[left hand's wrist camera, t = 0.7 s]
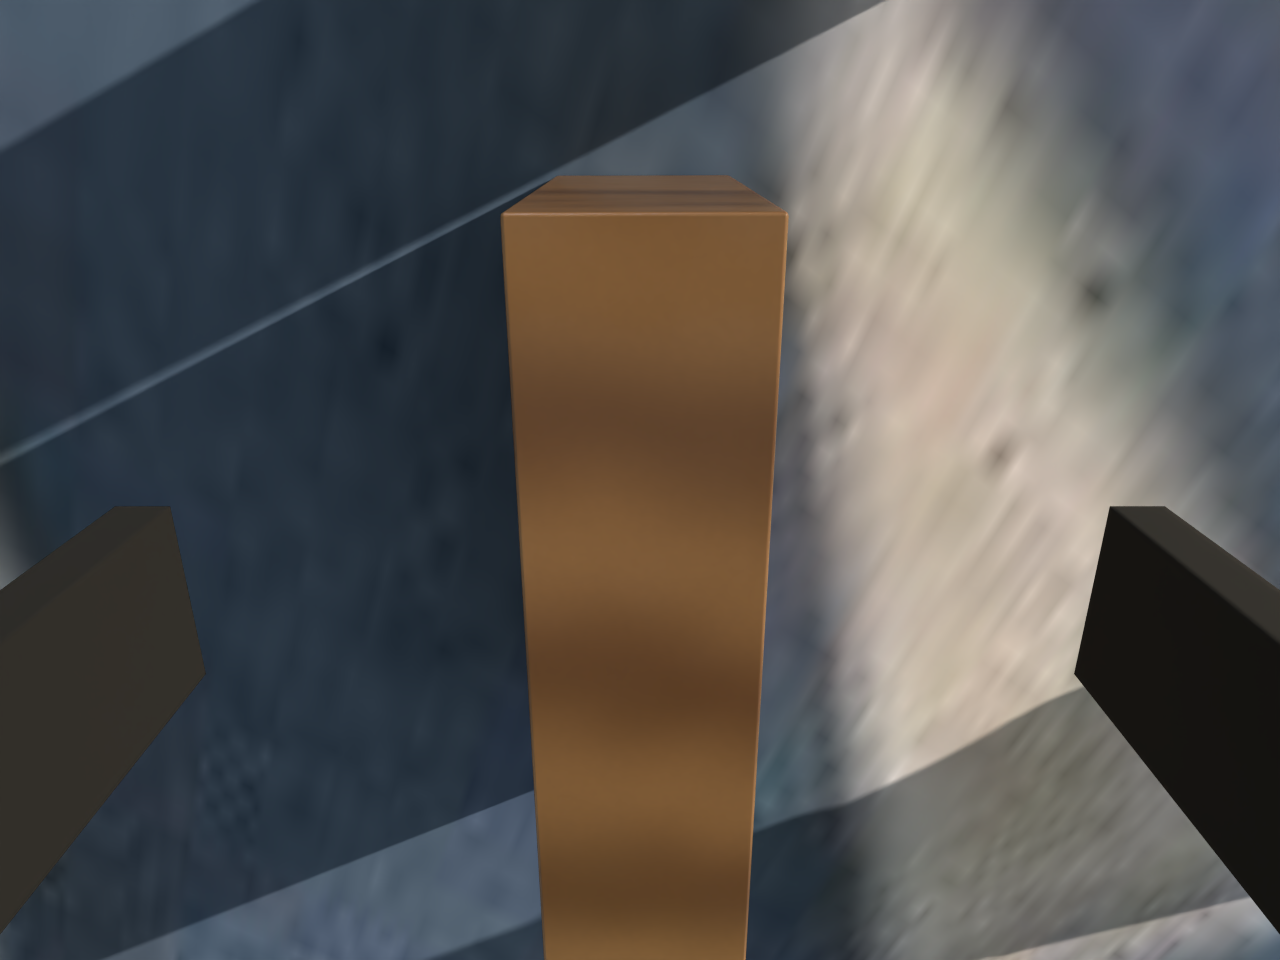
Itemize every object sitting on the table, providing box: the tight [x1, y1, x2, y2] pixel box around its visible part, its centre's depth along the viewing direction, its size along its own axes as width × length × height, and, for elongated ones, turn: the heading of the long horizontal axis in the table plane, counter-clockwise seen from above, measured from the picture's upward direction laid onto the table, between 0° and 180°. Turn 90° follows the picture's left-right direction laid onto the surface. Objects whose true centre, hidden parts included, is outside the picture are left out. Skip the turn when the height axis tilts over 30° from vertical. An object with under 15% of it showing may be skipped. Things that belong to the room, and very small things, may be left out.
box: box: [500, 175, 789, 960], centre depth 28 cm, size 22×6×13 cm, turn 0°
